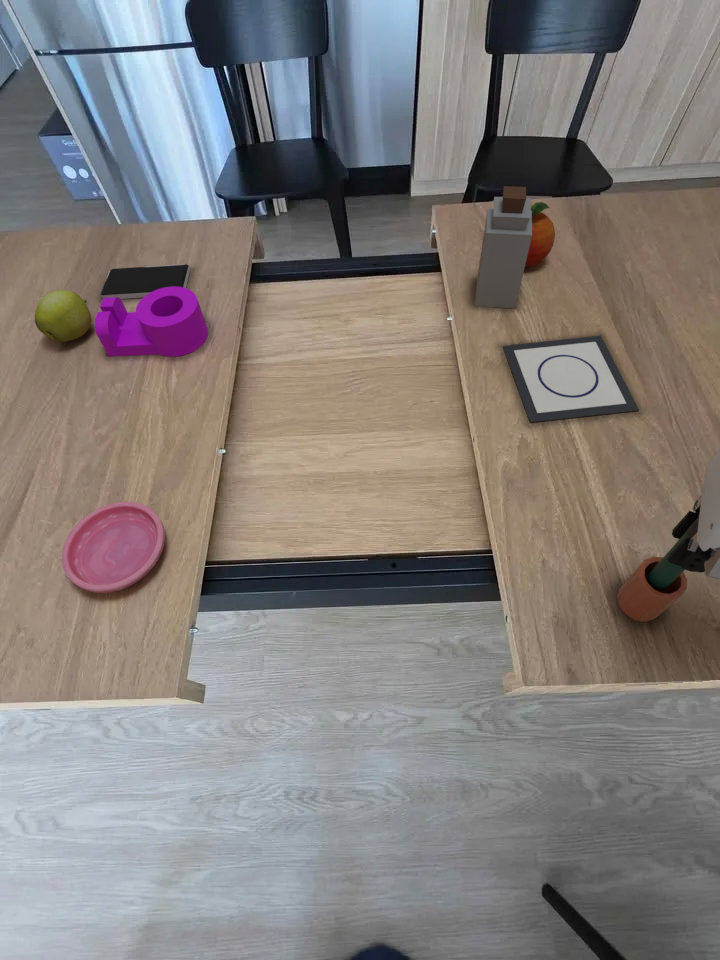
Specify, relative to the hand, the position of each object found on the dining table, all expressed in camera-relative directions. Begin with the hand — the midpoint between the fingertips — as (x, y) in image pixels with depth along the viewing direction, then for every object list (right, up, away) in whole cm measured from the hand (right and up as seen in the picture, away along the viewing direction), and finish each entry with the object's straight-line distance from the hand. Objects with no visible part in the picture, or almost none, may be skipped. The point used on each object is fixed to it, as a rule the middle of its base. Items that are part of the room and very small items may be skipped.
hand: (686, 551), depth 54 cm
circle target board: (0, +23, +31) cm, 38 cm away
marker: (0, -4, +6) cm, 7 cm away
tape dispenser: (-66, +31, +40) cm, 83 cm away
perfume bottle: (-8, +39, +43) cm, 58 cm away
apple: (-81, +32, +42) cm, 96 cm away
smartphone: (-71, +43, +49) cm, 96 cm away
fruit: (-2, +47, +48) cm, 67 cm away
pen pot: (+1, -7, +11) cm, 13 cm away
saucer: (-62, -3, +17) cm, 65 cm away
